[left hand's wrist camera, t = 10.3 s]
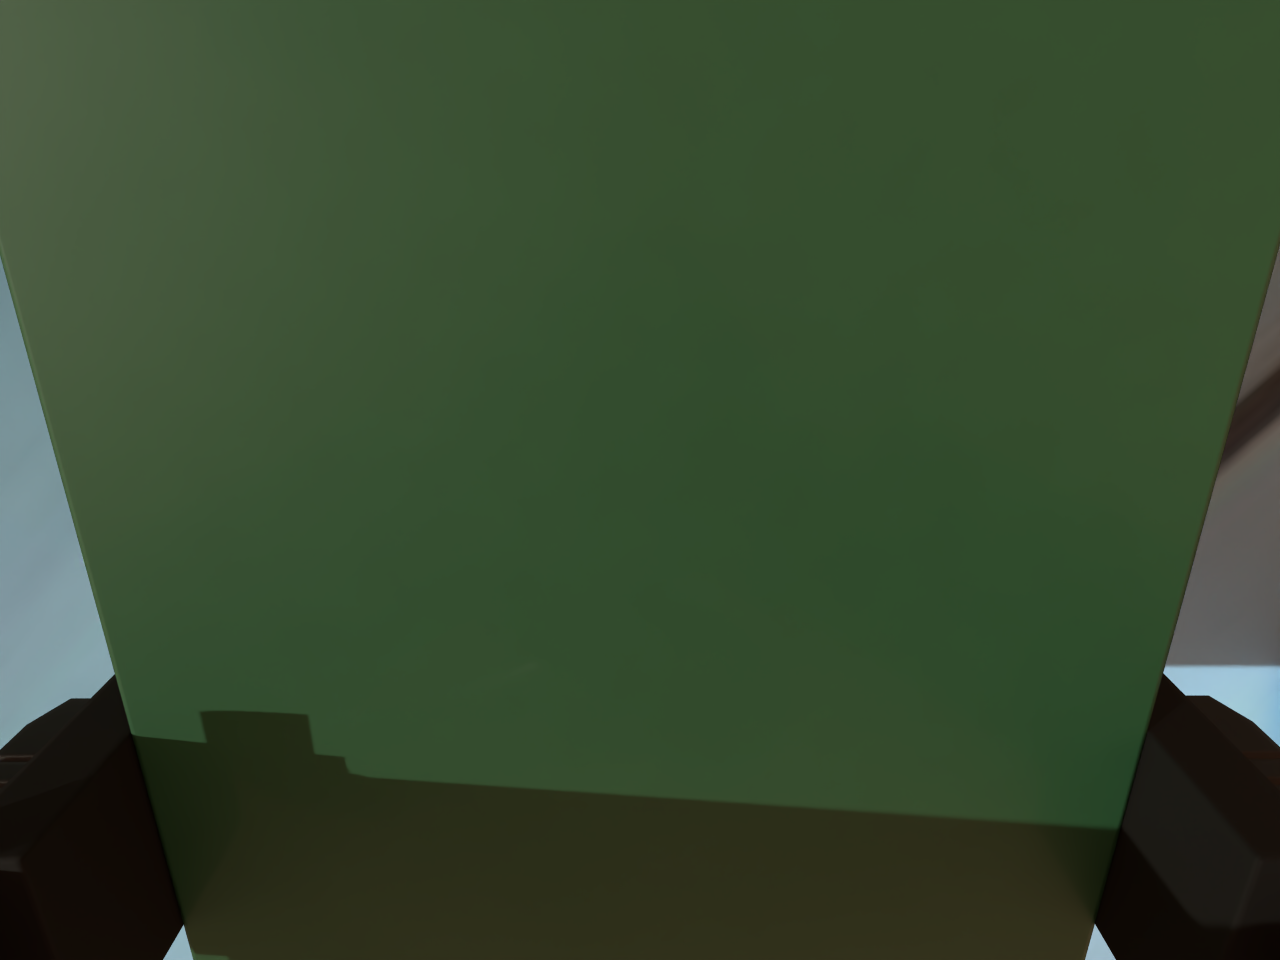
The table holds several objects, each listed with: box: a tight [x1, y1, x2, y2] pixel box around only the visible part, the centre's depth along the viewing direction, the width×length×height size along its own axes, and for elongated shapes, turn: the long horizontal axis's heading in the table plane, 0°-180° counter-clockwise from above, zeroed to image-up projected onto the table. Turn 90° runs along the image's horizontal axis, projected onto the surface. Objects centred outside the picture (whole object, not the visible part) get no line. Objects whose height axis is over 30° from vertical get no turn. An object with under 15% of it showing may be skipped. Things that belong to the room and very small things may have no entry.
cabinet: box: [0, 0, 1280, 960], centre depth 12 cm, size 20×10×11 cm, turn 0°
